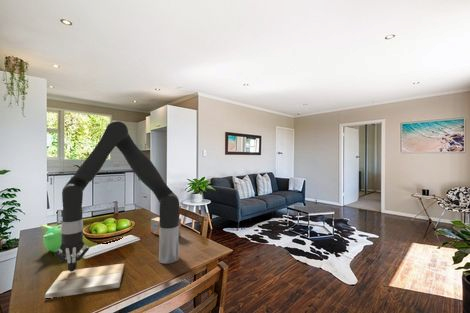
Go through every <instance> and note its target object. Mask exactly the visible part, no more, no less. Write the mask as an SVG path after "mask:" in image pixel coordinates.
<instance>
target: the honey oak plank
mask: <svg viewBox="0 0 470 313" xmlns="http://www.w3.org/2000/svg"><path fill="white" fill-rule="evenodd" d="M124 270H125V263H118V264H117V263H116V264H109V265H101V266H93V267H86V268H79V269H77V268H76V269H75V270H74V271H71V272H70V270H64V271H61V273H60V274H59V276H57V278H56V279H55V281H54V282H57V281H64V280H71V279H78V278H85V277H92V276H99V275H106V274H113V273H120V272H122V275H123V274H124Z"/></svg>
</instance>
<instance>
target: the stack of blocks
mask: <svg viewBox="0 0 470 313" xmlns="http://www.w3.org/2000/svg"><path fill="white" fill-rule="evenodd" d="M159 220H160V216H157V217H154V218H151V219H150V234H154V235H158V236H159V228H160V221H159ZM181 228H182V217H179V227H178V238H180V237H182V236H181V235H182V234H181V233H182V231H181ZM179 236H180V237H179Z"/></svg>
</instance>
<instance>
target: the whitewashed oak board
mask: <svg viewBox="0 0 470 313" xmlns="http://www.w3.org/2000/svg"><path fill="white" fill-rule="evenodd" d="M122 276H123V274H122V272H120V273H113V274H106V275H99V276H92V277H85V278H78V279H71V280H64V281H57V282H55V281H54V282H52V285H51V286H50V287H49V288H48V289H47V291H46V293H44V299H45V298H51V299H54V298H53V297H57V298H62V296H63V297H68V296H75V295H81V294H86V293H93V292H99V291H100V292H101V291H106V290H112V289H117V288H118V289H119V288H120V285H121V281H122V278H123V277H122Z"/></svg>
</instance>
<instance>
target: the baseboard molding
mask: <svg viewBox="0 0 470 313" xmlns="http://www.w3.org/2000/svg"><path fill="white" fill-rule="evenodd" d="M122 237H123V238H122ZM122 237H121V238H122V239H120V240H118V241H115V242H111V243H108V244H102V243H99V244H95V245H92V246H90V248H89V250H88V251H87V252H86V253H85V255H84V256H83V257H82V258H81V259H84V260H87V259H90V258H93V257H96V256H99V255H101V254H104V253H107V252H110V251H114V250H115V249H119V248H122V247H124V246H127V245H130V244H133V243H135V242H138V241H141V238H140V237H138V236H135V235H132V234H129V235H125V236H122ZM82 252H83V251H82V249H81V250H80V251H79V252H78V256H80V255H81V253H82ZM78 256H77V257H78Z"/></svg>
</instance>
